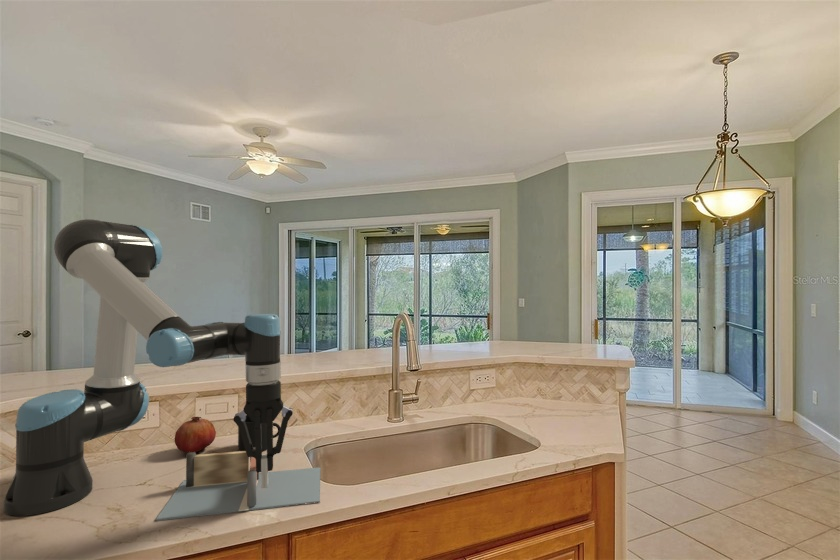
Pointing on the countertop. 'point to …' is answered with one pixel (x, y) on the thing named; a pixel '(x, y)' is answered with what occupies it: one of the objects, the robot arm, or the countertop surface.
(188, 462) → the fence fixed
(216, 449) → the countertop surface
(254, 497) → the fence panel
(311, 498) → the mat
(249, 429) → the mug
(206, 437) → the fruit
